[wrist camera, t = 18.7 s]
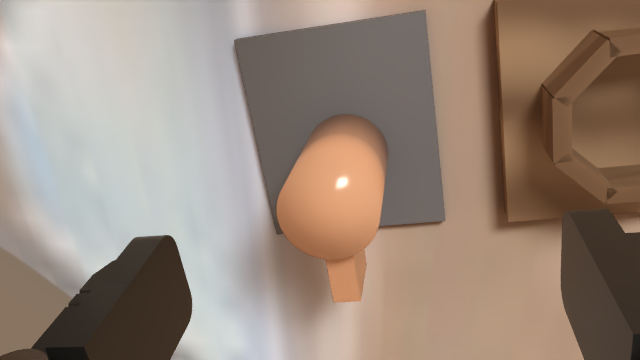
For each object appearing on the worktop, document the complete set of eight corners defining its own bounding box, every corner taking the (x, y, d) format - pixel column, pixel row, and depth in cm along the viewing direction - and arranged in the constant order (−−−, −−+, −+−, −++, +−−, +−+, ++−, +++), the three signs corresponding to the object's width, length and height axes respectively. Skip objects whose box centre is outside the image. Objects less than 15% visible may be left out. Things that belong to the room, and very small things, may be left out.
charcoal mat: (236, 38, 37) (234, 40, 36) (425, 10, 35) (425, 11, 34) (278, 230, 42) (276, 234, 42) (444, 216, 40) (445, 220, 39)
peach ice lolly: (300, 119, 38) (267, 171, 30) (383, 109, 37) (372, 160, 29) (322, 238, 41) (298, 314, 33) (399, 232, 40) (393, 309, 32)
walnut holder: (493, -1, 34) (504, 8, 30) (762, -42, 31) (814, -38, 27) (504, 212, 39) (515, 244, 35) (735, 193, 36) (776, 226, 32)
